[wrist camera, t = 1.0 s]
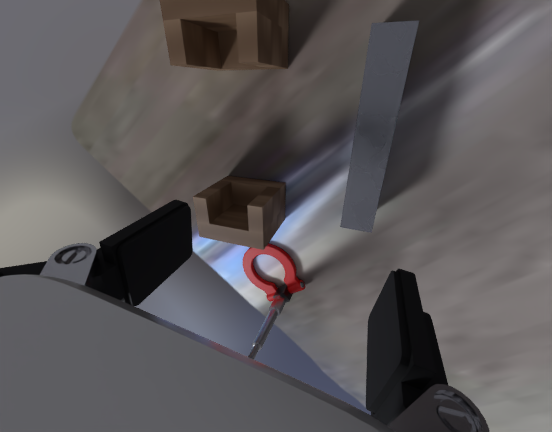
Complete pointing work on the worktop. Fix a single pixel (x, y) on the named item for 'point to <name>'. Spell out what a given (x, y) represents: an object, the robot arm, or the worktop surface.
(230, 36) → the posts
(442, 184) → the worktop surface
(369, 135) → the rail
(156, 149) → the worktop surface
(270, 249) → the tow hook
